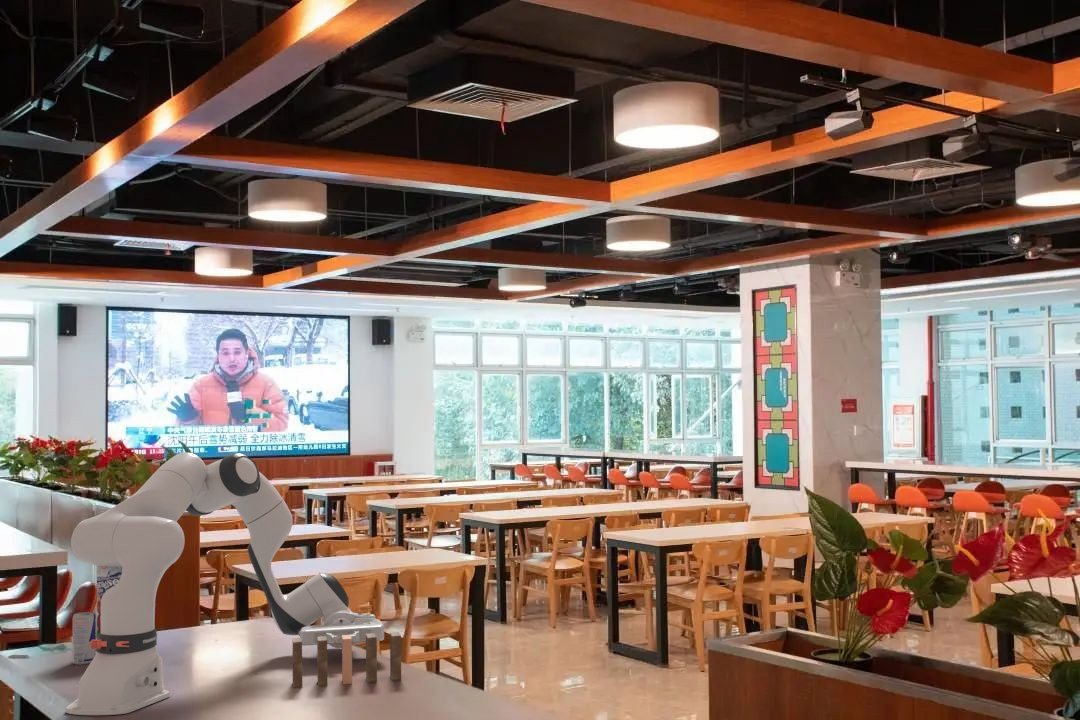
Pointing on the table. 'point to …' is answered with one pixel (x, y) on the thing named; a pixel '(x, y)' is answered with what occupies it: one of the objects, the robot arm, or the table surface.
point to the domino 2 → (322, 660)
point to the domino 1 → (297, 662)
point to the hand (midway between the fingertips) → (343, 639)
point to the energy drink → (83, 637)
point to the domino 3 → (346, 659)
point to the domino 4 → (371, 657)
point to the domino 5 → (395, 656)
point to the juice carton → (105, 586)
